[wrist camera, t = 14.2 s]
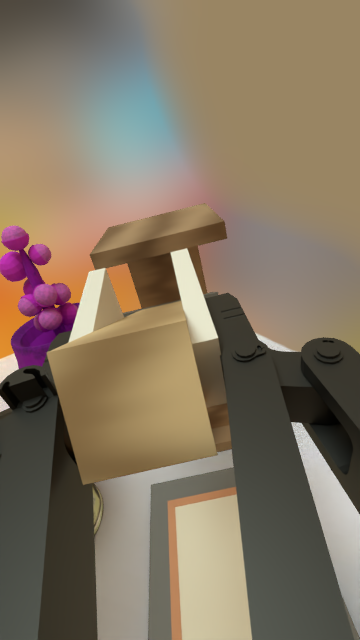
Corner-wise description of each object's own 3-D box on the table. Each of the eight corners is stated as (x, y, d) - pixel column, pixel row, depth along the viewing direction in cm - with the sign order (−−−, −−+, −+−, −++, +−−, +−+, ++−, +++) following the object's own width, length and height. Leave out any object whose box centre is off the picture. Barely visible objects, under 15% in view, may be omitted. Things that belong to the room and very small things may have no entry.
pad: (147, 841, 18) (143, 840, 18) (152, 487, 38) (150, 483, 37) (425, 798, 17) (427, 796, 17) (283, 459, 37) (283, 455, 37)
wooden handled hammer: (-28, 509, 7) (-68, 379, 7) (125, 349, 26) (116, 314, 26) (331, 429, 7) (304, 292, 6) (220, 327, 26) (211, 292, 25)
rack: (167, 462, 40) (89, 254, 27) (165, 398, 51) (108, 227, 38) (259, 442, 40) (224, 221, 27) (237, 382, 50) (205, 203, 37)
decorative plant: (17, 420, 55) (-90, 257, 41) (51, 359, 71) (-17, 228, 57) (121, 398, 53) (47, 222, 40) (130, 341, 70) (81, 203, 56)
